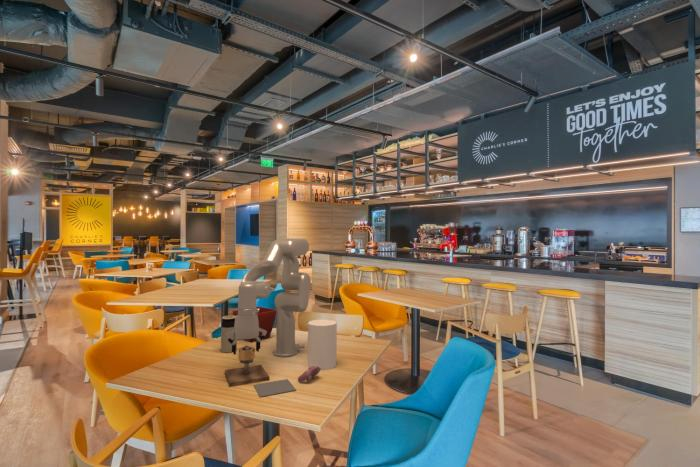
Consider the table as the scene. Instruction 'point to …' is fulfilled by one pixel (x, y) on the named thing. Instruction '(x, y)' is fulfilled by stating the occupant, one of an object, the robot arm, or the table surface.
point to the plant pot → (263, 321)
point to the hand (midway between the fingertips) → (246, 352)
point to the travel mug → (226, 327)
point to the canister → (322, 343)
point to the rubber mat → (274, 388)
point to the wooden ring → (246, 354)
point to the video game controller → (309, 373)
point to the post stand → (246, 373)
